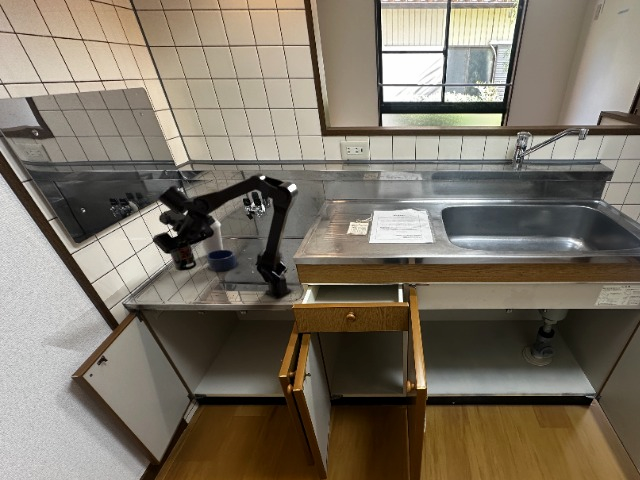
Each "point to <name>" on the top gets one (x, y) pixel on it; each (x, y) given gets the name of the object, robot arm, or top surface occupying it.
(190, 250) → the supplement container
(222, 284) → the top surface
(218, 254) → the blue rimmed bowl
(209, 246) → the coffee cup
